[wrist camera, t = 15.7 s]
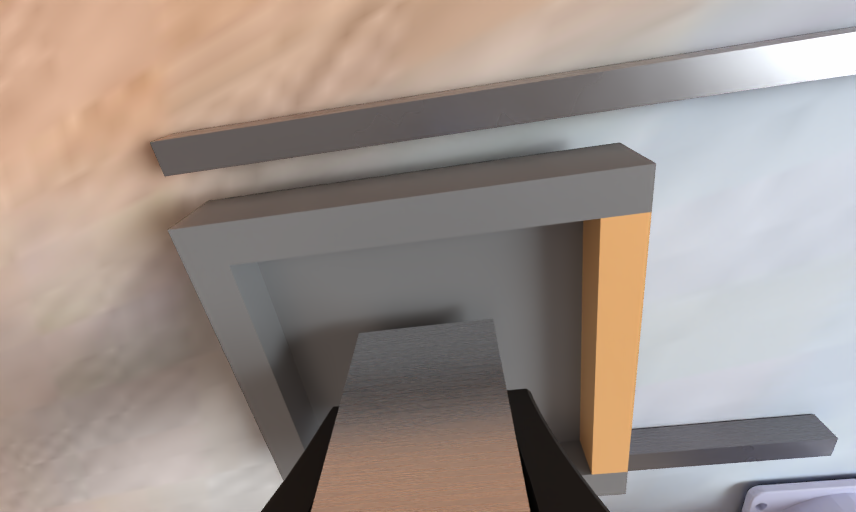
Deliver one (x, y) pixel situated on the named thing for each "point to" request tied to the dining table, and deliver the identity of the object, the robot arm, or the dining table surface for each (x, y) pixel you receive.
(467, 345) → the metal part
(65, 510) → the dining table surface
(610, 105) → the track
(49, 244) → the dining table surface
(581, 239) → the grey shallow tray
